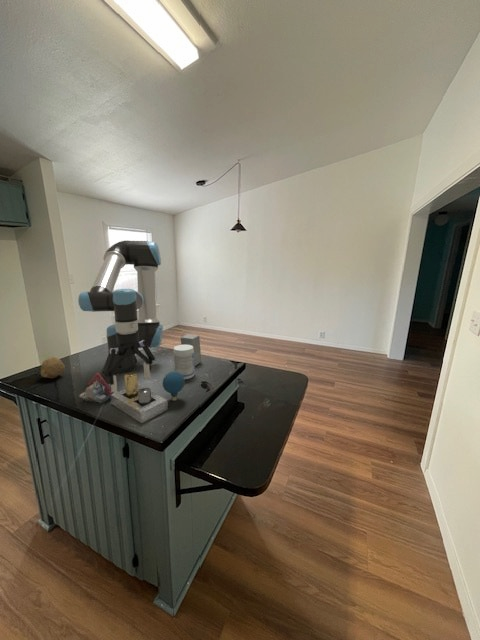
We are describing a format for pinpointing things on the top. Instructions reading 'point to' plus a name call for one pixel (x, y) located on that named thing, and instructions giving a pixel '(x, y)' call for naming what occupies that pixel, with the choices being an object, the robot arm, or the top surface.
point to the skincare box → (195, 343)
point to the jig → (140, 404)
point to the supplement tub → (184, 360)
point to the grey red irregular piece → (97, 390)
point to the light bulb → (173, 383)
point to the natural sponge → (52, 367)
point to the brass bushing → (131, 385)
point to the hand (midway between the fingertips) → (131, 385)
